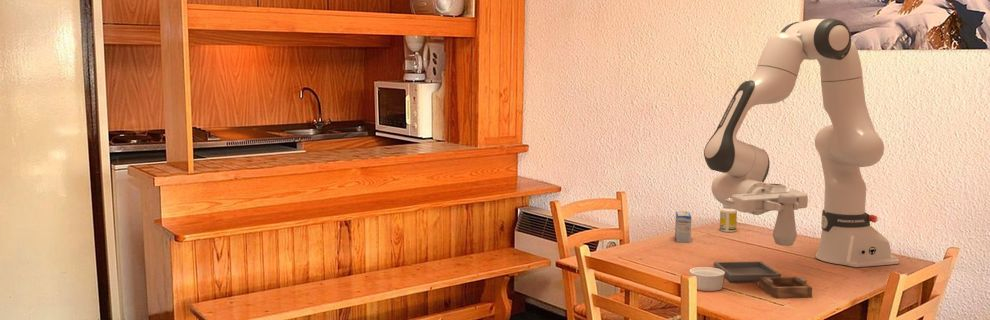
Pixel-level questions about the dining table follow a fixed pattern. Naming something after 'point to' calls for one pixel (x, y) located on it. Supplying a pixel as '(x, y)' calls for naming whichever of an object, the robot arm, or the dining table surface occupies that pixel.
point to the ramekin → (708, 278)
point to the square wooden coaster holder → (785, 287)
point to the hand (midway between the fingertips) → (789, 207)
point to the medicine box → (683, 226)
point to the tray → (745, 271)
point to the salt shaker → (785, 221)
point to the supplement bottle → (728, 219)
